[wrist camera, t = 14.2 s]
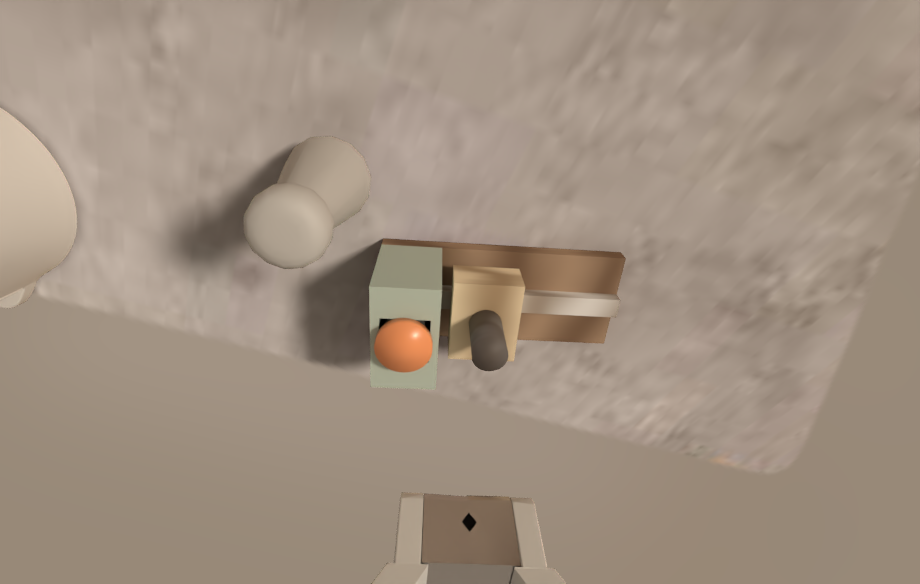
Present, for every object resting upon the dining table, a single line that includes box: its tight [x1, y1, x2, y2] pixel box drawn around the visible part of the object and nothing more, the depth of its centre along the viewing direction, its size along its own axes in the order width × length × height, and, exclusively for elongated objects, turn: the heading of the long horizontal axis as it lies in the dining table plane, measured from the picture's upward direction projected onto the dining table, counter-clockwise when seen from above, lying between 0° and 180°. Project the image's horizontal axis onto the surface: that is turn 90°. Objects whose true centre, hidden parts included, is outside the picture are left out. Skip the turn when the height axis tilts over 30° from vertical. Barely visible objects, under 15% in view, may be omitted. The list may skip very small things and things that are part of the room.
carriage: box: [448, 265, 525, 371], centre depth 34 cm, size 5×6×7 cm
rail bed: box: [382, 239, 626, 343], centre depth 39 cm, size 19×8×2 cm, turn 86°
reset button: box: [374, 318, 433, 372], centre depth 33 cm, size 4×4×5 cm
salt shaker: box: [243, 136, 371, 269], centre depth 29 cm, size 6×6×13 cm
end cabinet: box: [369, 244, 442, 390], centre depth 35 cm, size 5×8×7 cm, turn 176°
